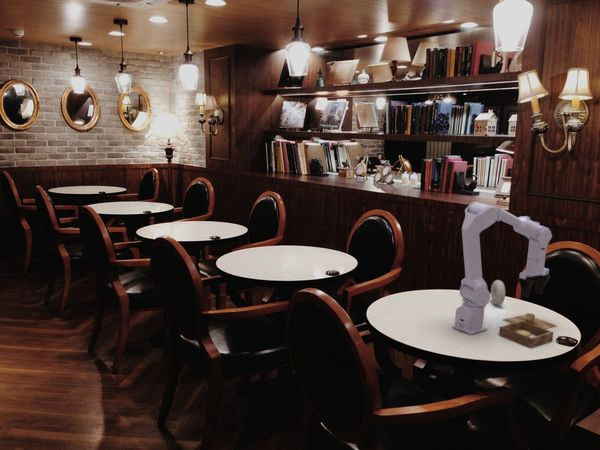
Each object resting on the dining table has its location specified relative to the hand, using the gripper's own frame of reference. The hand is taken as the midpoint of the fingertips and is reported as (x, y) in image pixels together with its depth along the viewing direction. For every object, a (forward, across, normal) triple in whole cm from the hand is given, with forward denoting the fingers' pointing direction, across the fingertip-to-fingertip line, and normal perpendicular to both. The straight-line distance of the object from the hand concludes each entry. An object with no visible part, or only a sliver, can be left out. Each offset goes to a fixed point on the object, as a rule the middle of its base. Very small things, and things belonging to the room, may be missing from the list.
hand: (531, 295), depth 191 cm
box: (+10, -14, -8) cm, 19 cm away
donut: (+11, +7, +19) cm, 23 cm away
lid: (+11, 0, 0) cm, 11 cm away
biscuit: (+11, -11, -6) cm, 17 cm away
